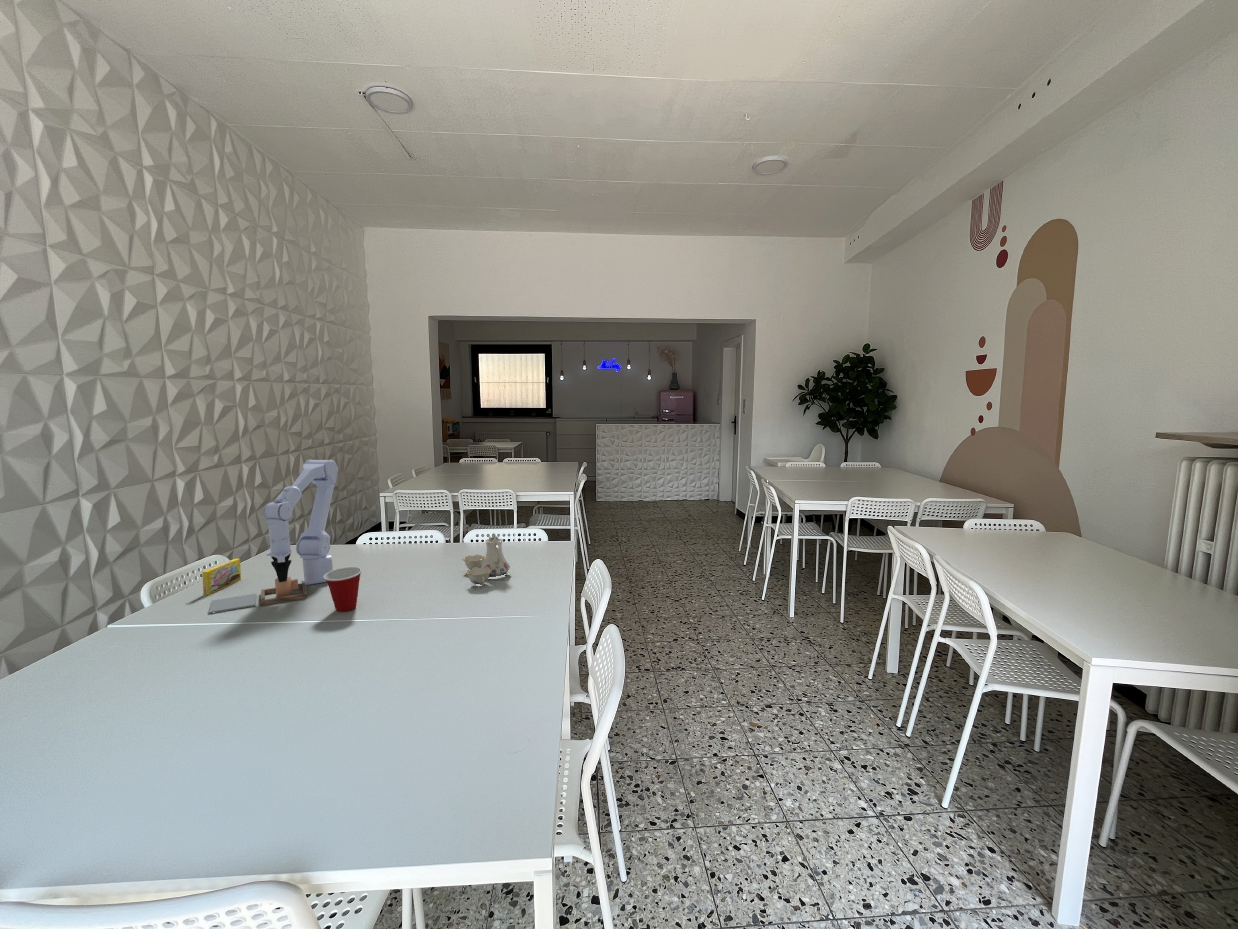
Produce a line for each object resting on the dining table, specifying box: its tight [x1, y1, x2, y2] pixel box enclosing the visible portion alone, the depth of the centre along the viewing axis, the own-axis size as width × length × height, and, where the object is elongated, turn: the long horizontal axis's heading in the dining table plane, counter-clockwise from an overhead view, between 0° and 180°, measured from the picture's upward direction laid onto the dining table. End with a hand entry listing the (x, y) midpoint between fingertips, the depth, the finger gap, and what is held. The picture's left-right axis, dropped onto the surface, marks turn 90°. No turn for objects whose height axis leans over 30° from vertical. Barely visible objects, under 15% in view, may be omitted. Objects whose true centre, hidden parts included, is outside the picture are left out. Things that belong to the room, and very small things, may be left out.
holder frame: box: [260, 582, 308, 606], centre depth 188 cm, size 13×13×2 cm
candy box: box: [201, 558, 242, 596], centre depth 196 cm, size 16×2×8 cm, turn 179°
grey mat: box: [208, 593, 257, 614], centre depth 180 cm, size 12×12×1 cm
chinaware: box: [461, 532, 511, 587], centre depth 206 cm, size 28×17×17 cm, turn 25°
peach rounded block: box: [274, 576, 299, 598], centre depth 188 cm, size 6×5×6 cm
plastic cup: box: [324, 566, 362, 613], centre depth 175 cm, size 11×11×12 cm
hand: (282, 578), depth 187 cm, fingers open, 7 cm apart
